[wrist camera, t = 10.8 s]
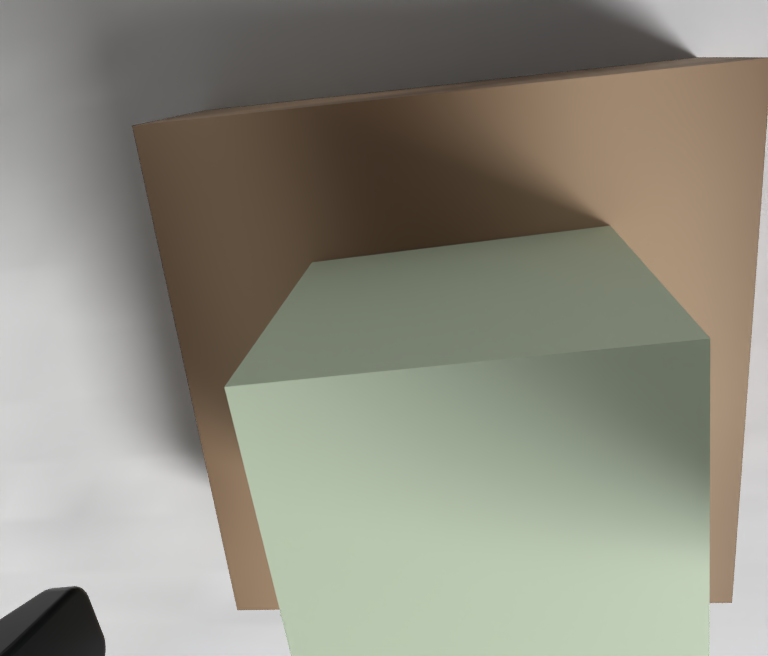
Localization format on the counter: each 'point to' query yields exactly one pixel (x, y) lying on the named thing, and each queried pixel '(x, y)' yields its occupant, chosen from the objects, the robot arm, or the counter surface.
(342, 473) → the sage cube
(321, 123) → the walnut block
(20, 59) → the counter surface
